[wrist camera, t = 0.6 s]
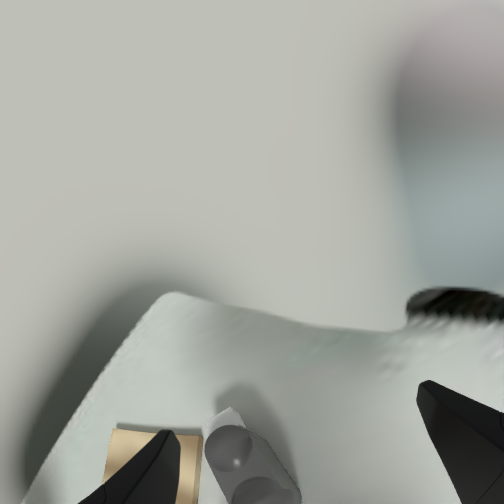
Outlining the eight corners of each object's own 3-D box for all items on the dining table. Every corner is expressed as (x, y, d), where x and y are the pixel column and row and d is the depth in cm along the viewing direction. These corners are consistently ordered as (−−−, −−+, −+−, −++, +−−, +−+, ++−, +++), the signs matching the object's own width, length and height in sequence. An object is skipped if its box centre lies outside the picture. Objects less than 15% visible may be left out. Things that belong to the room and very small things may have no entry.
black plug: (311, 506, 15) (297, 510, 12) (267, 528, 14) (246, 533, 12) (248, 411, 23) (228, 397, 21) (213, 432, 23) (189, 421, 21)
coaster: (194, 548, 14) (189, 548, 13) (103, 517, 17) (98, 516, 17) (203, 437, 23) (198, 435, 22) (117, 430, 26) (112, 428, 26)
